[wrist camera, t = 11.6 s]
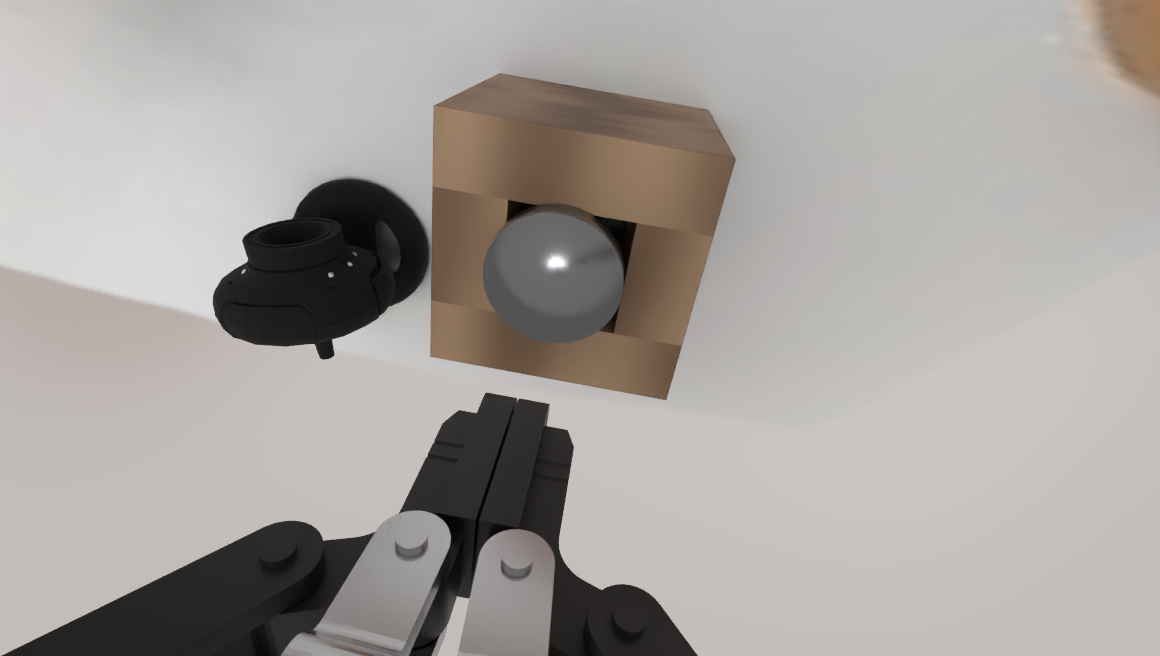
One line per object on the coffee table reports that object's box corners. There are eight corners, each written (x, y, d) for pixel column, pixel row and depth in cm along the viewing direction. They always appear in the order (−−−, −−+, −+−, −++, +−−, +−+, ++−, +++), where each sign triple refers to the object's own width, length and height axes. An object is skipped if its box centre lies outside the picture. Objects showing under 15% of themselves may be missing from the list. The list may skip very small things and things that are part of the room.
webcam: (422, 178, 30) (329, 250, 21) (440, 303, 33) (368, 409, 25) (282, 174, 30) (137, 243, 22) (316, 298, 34) (204, 399, 25)
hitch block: (708, 110, 26) (735, 159, 18) (661, 296, 32) (666, 399, 23) (499, 73, 27) (433, 105, 18) (486, 264, 32) (430, 356, 23)
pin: (640, 156, 27) (636, 230, 19) (620, 250, 30) (609, 354, 21) (539, 137, 27) (487, 201, 19) (528, 232, 30) (478, 329, 21)
